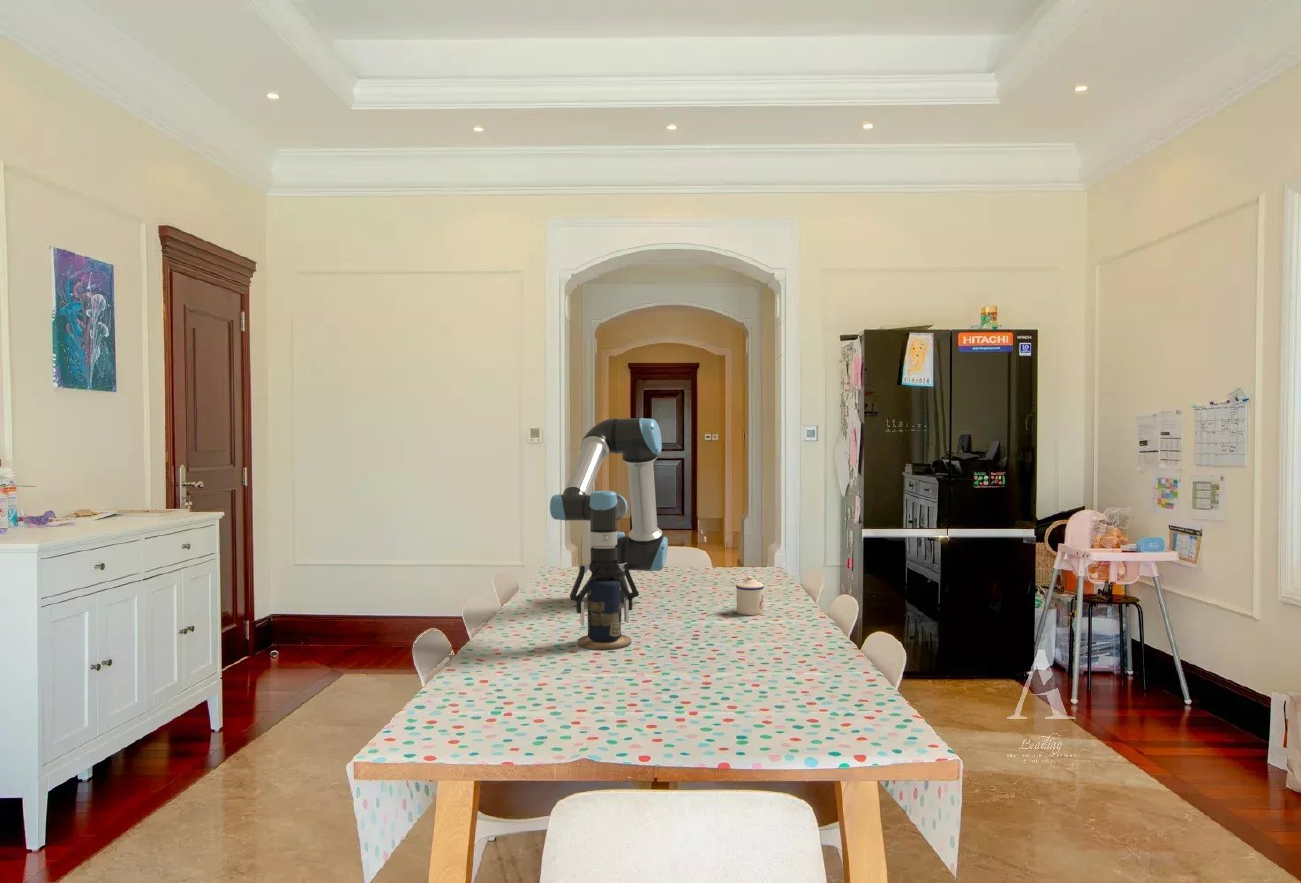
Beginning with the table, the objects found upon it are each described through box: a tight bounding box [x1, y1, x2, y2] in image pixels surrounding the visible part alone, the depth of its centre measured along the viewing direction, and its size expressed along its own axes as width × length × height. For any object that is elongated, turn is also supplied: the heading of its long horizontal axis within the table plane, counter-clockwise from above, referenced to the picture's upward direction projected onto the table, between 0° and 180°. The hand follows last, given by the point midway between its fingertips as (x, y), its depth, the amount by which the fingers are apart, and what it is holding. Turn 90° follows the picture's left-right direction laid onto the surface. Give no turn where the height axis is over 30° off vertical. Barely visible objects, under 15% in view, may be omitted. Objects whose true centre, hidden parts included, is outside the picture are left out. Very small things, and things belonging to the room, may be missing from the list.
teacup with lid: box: [735, 575, 765, 616], centre depth 272 cm, size 12×9×12 cm
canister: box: [586, 578, 622, 642], centre depth 235 cm, size 10×10×18 cm
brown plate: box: [577, 633, 632, 651], centre depth 235 cm, size 15×15×1 cm
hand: (604, 623), depth 235 cm, fingers open, 12 cm apart
